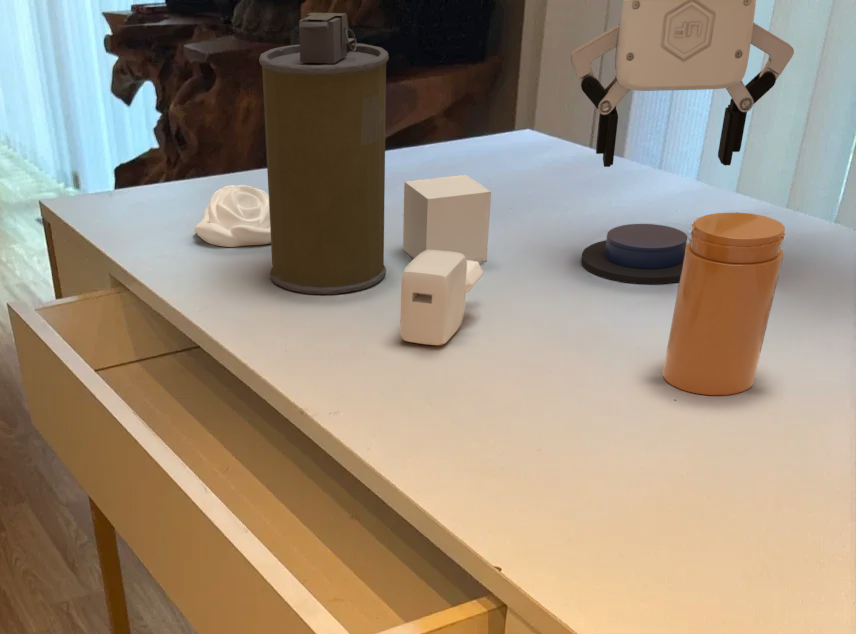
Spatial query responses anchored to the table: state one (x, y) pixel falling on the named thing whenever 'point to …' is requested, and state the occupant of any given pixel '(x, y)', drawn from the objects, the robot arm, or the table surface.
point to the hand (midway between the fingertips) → (665, 162)
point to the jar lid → (645, 246)
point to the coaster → (625, 268)
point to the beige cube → (446, 216)
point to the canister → (326, 158)
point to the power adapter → (436, 295)
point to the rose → (236, 217)
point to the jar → (723, 303)
